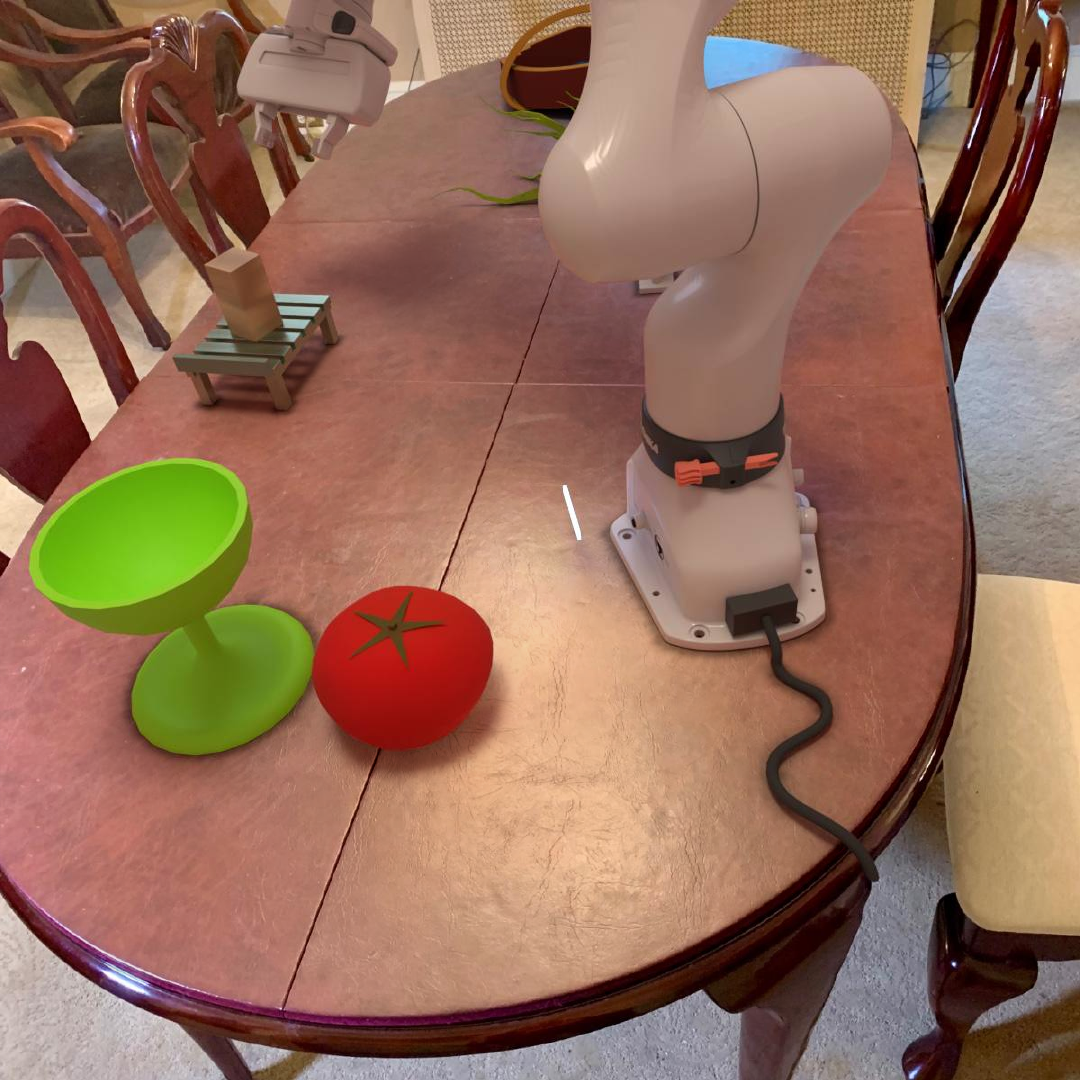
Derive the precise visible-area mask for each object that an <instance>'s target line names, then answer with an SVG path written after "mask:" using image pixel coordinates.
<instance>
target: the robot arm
mask: <svg viewBox="0 0 1080 1080" xmlns="http://www.w3.org/2000/svg"><path fill="white" fill-rule="evenodd" d="M739 1H740V0H588V4H589V7H590V12H589V14H590V25H591V50H590V60H589V66H588V72H587V77H586V81H585V85H584V89H583V92H582V95H581V98H580V101H579V104H578V106H577V107H576V109H575V112H573V115H572V118H571V119H570V121H569V123H568V125H567V126H566V127H565V128H566V130H565V131H564V133H563V135H562V136H561V138H560V139H559V140H557V142H556V143H555V144H554V146H553V147H552V149H551V151H550V152H549V155H548V156H547V158H546V160H545V163H544V166H543V168H542V171H541V172H542V175H541V177H540V179H539V186H538V187H539V193H538V200H537V203H538V204H537V207H538V214H539V215H538V216H539V222H540V224H541V229H542V232H543V235H544V237H545V240H546V241H547V244H548V246H549V247H550V249H551V251H552V252H553V254H554V256H555V257H556V258H557V259H558V261H559V262H560V263H561V264H562V265H563V266H564V267H565V268H566V270H568V271H569V272H570V273H571V274H573V275H574V276H575V277H577V278H578V279H580V280H581V281H583V282H585V283H587V284H591V285H597V284H600V285H601V284H613V283H615V284H616V283H627V282H637V281H639V280H646V279H653V278H657V277H660V276H663V275H666V274H669V273H673V274H674V273H676V272H679V271H683V272H681V273H680V275H679V276H678V277H677V278H675V279H674V282H673V283H672V284H671V285H670V286H669V287H668V288H667V289H666V290H665V291H664V292H662V293H661V294H660V295H659V296H658V298H657V299H656V300H655V302H654V303H653V305H652V306H651V308H650V310H649V312H648V314H647V318H646V320H645V325H644V328H643V335H642V336H643V360H644V361H643V362H644V385H645V386H644V387H645V392H644V394H643V396H642V398H641V406H640V407H641V409H640V412H639V424H640V430H641V440H642V441H641V443H640V444H639V446H638V447H637V449H636V450H635V451H634V453H633V454H632V455H631V456H630V457H629V459H628V460H627V461H626V512H624V513H623V514H621V515H620V516H619V517H617V518H616V519H615V520H614V521H613V522H612V523H611V525H610V531H609V537H610V540H611V542H612V543H613V545H614V547H615V549H616V551H617V553H618V555H619V557H620V559H621V561H622V563H623V564H624V566H625V568H626V571H627V573H628V574H629V576H630V578H631V580H632V582H633V584H634V585H635V587H636V590H637V591H638V594H639V595H640V597H641V599H642V601H643V603H644V605H645V607H646V608H647V611H648V612H649V615H650V616H651V618H652V620H653V621H654V624H655V626H656V627H657V630H658V631H659V634H660V635H661V636H662V638H663V640H664V641H665V642H666V643H668V644H671V645H675V646H678V647H681V648H685V649H691V650H699V651H734V650H742V649H751V648H756V647H762V646H768V645H769V647H770V653H771V656H770V666H771V669H772V671H773V673H774V674H775V676H776V677H777V678H778V679H779V680H780V681H781V682H782V683H783V684H785V685H786V686H788V687H789V688H792V689H793V690H796V691H798V692H800V693H802V694H805V695H807V696H809V697H811V698H812V699H814V700H815V701H817V702H818V704H819V705H820V714H819V717H818V718H817V720H815V722H814V723H812V724H811V725H810V726H808V727H806V728H805V729H803V730H801V731H799V732H798V733H796V734H794V735H792V736H790V737H789V738H787V739H785V740H783V741H782V742H781V743H780V744H778V745H777V746H776V747H775V748H774V749H773V750H772V751H771V752H770V754H768V755H769V756H768V757H767V760H766V762H765V775H766V779H767V784H768V786H769V787H770V790H771V791H772V793H773V795H774V796H775V797H776V798H777V799H778V801H779V802H780V803H781V804H782V805H784V806H785V807H786V808H787V809H789V810H790V811H792V812H793V813H795V814H796V815H797V816H799V817H801V818H803V819H805V820H806V821H808V822H810V823H812V824H813V825H815V826H817V827H819V828H820V829H822V830H823V831H824V832H827V833H828V834H829V835H831V836H833V837H834V838H836V839H837V840H839V842H841V843H842V844H843V845H844V846H846V848H847V849H849V851H850V852H851V853H852V854H853V855H854V857H855V858H856V860H857V861H858V862H859V864H860V867H861V869H862V870H863V873H864V876H865V877H866V879H867V880H868V881H870V882H871V883H878V882H879V880H880V873H879V871H878V867H877V865H876V863H875V861H874V859H873V857H872V856H871V854H870V853H869V851H868V850H867V848H866V847H865V845H864V844H863V843H862V842H861V841H860V840H859V839H858V838H857V837H856V836H855V835H854V834H853V833H852V832H850V831H849V830H848V829H847V828H845V827H844V826H843V825H841V824H839V823H838V822H836V821H835V820H833V819H832V818H830V817H829V816H827V815H825V814H824V813H822V812H820V811H818V810H816V809H814V808H812V807H810V806H809V805H807V804H805V803H804V802H802V801H801V800H799V799H798V798H796V797H795V796H794V795H793V794H791V793H790V792H789V791H788V790H787V788H786V787H785V786H784V785H783V783H782V781H781V779H780V774H779V765H780V763H781V761H782V760H783V758H784V757H786V755H788V754H789V753H790V752H792V751H794V750H795V749H797V748H799V747H800V746H802V745H804V744H806V743H808V742H810V741H811V740H813V739H814V738H816V737H817V736H819V735H820V734H822V732H824V731H825V730H826V729H827V727H828V726H829V725H830V724H831V722H832V719H833V716H834V707H833V706H834V705H833V703H832V700H831V698H830V697H829V695H828V694H827V693H826V692H825V691H824V690H823V689H821V688H819V687H818V686H816V685H813V684H812V683H809V682H807V681H804V680H802V679H800V678H798V677H796V676H794V675H793V674H791V673H790V672H789V671H788V670H787V669H786V668H785V666H784V665H783V655H784V654H783V647H782V644H781V642H785V641H787V640H790V639H794V638H797V637H798V636H799V637H800V636H801V635H803V634H806V633H808V632H809V631H811V630H813V629H814V628H816V627H817V626H818V625H820V624H821V623H822V622H824V620H825V618H826V600H825V594H824V587H823V580H822V575H821V574H822V573H821V568H820V561H819V555H818V548H817V542H816V536H815V534H816V533H817V532H818V513H817V508H816V507H813V506H811V504H810V500H809V498H808V497H807V496H805V495H804V494H802V493H799V492H797V491H796V489H795V486H796V485H797V486H798V485H799V486H800V485H804V481H805V478H804V477H805V476H804V474H805V473H804V469H803V468H793V465H792V458H791V446H792V437H791V436H789V435H788V434H787V433H786V431H787V416H786V411H785V403H784V401H785V400H784V396H783V393H782V391H781V388H782V377H783V369H784V361H785V354H786V348H787V341H788V334H789V330H790V329H789V328H790V325H791V323H792V318H793V316H794V313H795V310H796V308H797V305H798V303H799V300H800V298H801V296H802V294H803V292H804V290H805V287H806V286H807V283H808V281H809V280H810V277H811V275H812V274H813V272H814V270H815V268H816V267H817V265H818V263H819V261H820V259H821V258H822V256H823V255H824V253H825V251H826V250H827V248H828V247H829V245H830V244H831V242H832V241H833V239H834V238H835V236H836V235H837V234H838V232H839V231H840V230H841V229H842V228H843V226H844V225H845V224H846V222H848V220H849V219H850V218H851V217H852V216H853V215H854V214H855V213H856V212H857V211H858V210H859V209H860V208H861V207H862V206H863V205H864V204H865V203H866V202H867V201H869V200H870V199H871V198H872V197H873V196H874V195H875V194H876V192H877V191H878V190H879V188H880V187H881V185H882V183H883V181H884V179H885V177H886V174H887V171H888V169H889V165H890V161H891V157H892V151H893V141H894V137H893V136H894V135H893V134H894V133H893V132H894V131H893V122H892V117H891V114H890V110H889V107H888V104H887V102H886V100H885V98H884V96H883V95H882V92H881V91H880V89H879V88H878V86H877V85H876V84H875V83H874V81H873V80H872V79H871V78H870V77H869V76H868V75H867V74H866V73H865V72H863V71H861V70H860V69H858V68H856V67H854V66H849V65H805V66H789V67H784V68H781V69H777V70H773V71H769V72H766V73H762V74H759V75H755V76H752V77H747V78H743V79H740V80H737V81H733V82H730V83H725V84H722V85H719V86H718V85H717V86H715V87H711V88H708V87H707V84H706V83H707V82H706V76H705V65H704V64H705V63H704V62H705V50H706V43H707V39H708V35H709V33H710V32H711V31H712V30H713V29H715V27H716V26H717V25H718V24H719V23H720V22H721V21H723V19H724V18H726V16H727V15H728V14H729V13H730V12H731V11H732V10H733V9H734V7H735V6H736V5H737V4H738V3H739ZM374 3H375V0H290V4H289V8H288V11H287V14H286V18H285V21H284V24H283V26H280V25H276V24H273V25H272V24H271V25H269V27H268V28H266V29H265V30H264V31H263V32H261V33H259V35H258V36H257V38H256V39H255V40H254V41H253V43H252V45H251V46H250V48H249V50H248V53H247V55H246V58H245V60H244V62H243V65H242V67H241V70H240V73H239V76H238V79H237V82H236V90H237V95H238V97H239V98H240V99H242V100H244V102H246V103H248V104H249V105H251V106H253V107H254V110H253V113H254V120H255V126H256V129H255V132H254V136H253V142H254V144H255V145H258V146H259V147H261V148H265V149H269V150H271V149H273V148H274V145H275V142H276V139H277V136H278V135H277V134H275V133H273V121H275V120H277V119H276V118H277V115H278V113H283V114H289V115H290V114H291V115H296V116H302V117H306V118H313V119H319V120H323V121H324V120H325V123H326V124H327V127H326V128H325V130H324V131H323V132H322V133H321V135H320V137H319V138H318V137H314V139H313V140H312V146H311V148H310V153H311V155H312V156H313V157H315V158H317V159H320V160H324V161H330V160H331V159H332V155H333V152H334V148H335V147H336V146H337V145H338V144H339V142H340V141H342V139H343V138H344V137H345V136H346V135H347V134H348V130H349V126H350V125H353V126H354V125H355V126H358V127H359V126H360V127H366V128H371V127H373V126H374V125H375V124H376V123H377V122H378V121H379V120H380V118H381V116H382V114H383V111H384V108H385V104H386V100H387V98H388V93H389V89H390V85H391V80H392V79H391V78H392V73H391V69H390V67H393V66H394V65H395V63H396V61H397V58H398V54H399V51H398V49H397V47H396V46H395V45H393V44H392V42H391V41H390V40H388V39H387V37H386V36H385V35H383V34H382V33H381V32H380V31H378V30H377V29H376V28H374V27H373V26H372V23H373V18H374ZM562 489H563V495H564V498H565V502H566V505H567V508H568V512H569V515H570V518H571V522H572V526H573V529H574V532H575V535H576V539H577V540H578V541H579V540H580V541H581V540H582V535H581V530H580V526H579V523H578V519H577V516H576V513H575V510H574V506H573V503H572V500H571V496H570V494H569V490H568V487H567V485H562ZM698 636H701V637H698Z"/></svg>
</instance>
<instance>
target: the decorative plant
mask: <svg viewBox="0 0 1080 1080" xmlns="http://www.w3.org/2000/svg"><path fill="white" fill-rule="evenodd" d="M566 92H567V91H566ZM567 93H568V92H567ZM568 94H569V93H568ZM476 95H477V96H478V97H479V98H480V100H482V101H483V102H484V103H485V104H486V105H487V106H488V107H490V108H491V109H492V110H494V111H495V112H496V113H499V114H501V115H506V116H512V117H514V118H516V119H518V120H520V121H521V122H533V123H537V124H539V125H542V126H543V127H546V128H548V129H551V130H553V131H531V130H515V132H516V133H517V132H518V133H524V134H525V133H527V134H531V135H536V136H541V137H552V138H554V139H555V140H557V141H558V140H559V139H560V138H561V136H562V135H563V133H564V131H565V130H566V128H567V127H566V126H564V125H563V124H561V123H559V122H557V121H555V120H553V119H552V118H550V117H548V116H547V115H544V114H543V113H540V112H535V111H530V110H515V111H510V112H509V111H508V112H507V111H504V110H503V109H502V108H500V110H499V109H497V108H495V107H494V106H492V105H491V104H489V103H488V102H486V100H485V99H483V97H481V96H480V95H479V94H478V93H476ZM569 95H570V94H569ZM570 96H571V95H570ZM571 97H572V96H571ZM572 98H574V97H572ZM574 99H576V100H578V101H580V99H578V98H574ZM557 102H558V101H557ZM559 103H561V102H559ZM562 104H564V103H562ZM565 105H566V104H565ZM567 106H568V105H567ZM568 108H570V109H571V110H572V111H573V113H575V111H576V109H575V107H570V106H568ZM521 115H522V116H525V117H521ZM500 131H501V132H502V131H503V132H513V130H509V129H500ZM509 171H510V172H512V173H514V174H516V175H517V176H521V177H523V178H524V179H525V178H526V179H528V180H537V179H539V178H541V175H542V171H538V173H537V174H536V175H533V176H530V177H529V176H526V175H524V174H523V175H522V174H519V173H518V172H515V171H514V170H512V169H509ZM458 190H462V191H466V192H470V193H472V194H474V195H475V196H477V197H479V198H481V199H482V200H484V201H488V202H494V203H497V204H498V203H499V204H503V205H511V204H517V203H518V204H519V203H526V202H534V201H538V193H539V186H536V187H534V188H532V189H529V190H526V191H524V192H521V193H519V194H515V195H513V196H510V197H507V198H505V197H498V196H492V195H486V194H484V193H482V192H480V191H477V190H475V189H473V188H470V187H460V186H459V187H455V188H451V189H448V190H445V191H442V192H440V193H438V194H436V195H435V196H432V197H431V198H430V200H432V199H434V198H436V197H438V196H440V195H442V194H444V193H448V192H453V191H458Z"/></svg>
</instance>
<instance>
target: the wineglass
mask: <svg viewBox="0 0 1080 1080" xmlns="http://www.w3.org/2000/svg"><path fill="white" fill-rule="evenodd" d="M247 494H248V493H247V491H246V486H245V485H244V484H243V482H242V481H241V480H240V478H239V477H238V476H237V475H236V473H235V472H233V471H231V470H230V469H228V468H227V467H225V466H223V465H221V464H220V463H217V462H213V461H209V460H205V459H201V458H191V457H189V458H188V457H171V458H166V459H157V460H151V461H146V462H143V463H139V464H137V465H133V466H130V467H127V468H122V469H121V470H118V471H116V472H114V473H112V474H109V475H107V476H105V477H102V478H101V479H98V480H96V481H95V482H93V483H92V484H90V485H89V486H87V487H86V488H84V489H82V490H80V491H79V492H78V493H76V494H74V495H73V496H72V497H70V498H69V499H68V500H67V501H66V502H65V503H63V505H62V506H60V507H59V508H58V509H57V510H56V511H54V513H53V514H52V515H51V516H50V517H49V518H48V520H47V521H46V523H45V524H44V525H43V527H42V528H41V529H40V530H39V531H38V534H37V536H36V538H35V540H34V542H33V545H32V547H31V549H30V551H29V552H30V553H29V566H28V572H29V574H30V576H31V579H32V581H33V584H34V587H35V588H36V589H37V590H38V591H39V593H41V594H42V595H43V596H44V597H45V598H46V599H47V600H48V601H49V602H50V603H51V604H52V605H53V606H54V607H56V608H57V609H58V610H59V611H60V612H61V613H62V614H64V615H65V616H66V617H68V618H69V619H71V620H73V621H76V622H78V623H80V624H82V625H85V626H86V627H88V628H92V629H94V630H97V631H100V632H103V633H104V634H105V633H106V634H113V635H114V634H115V635H126V636H143V637H144V636H146V637H147V636H151V635H152V636H153V635H160V634H166V633H168V632H171V631H172V632H171V633H169V634H168V635H166V636H165V637H163V639H161V641H160V642H159V643H158V644H157V645H156V646H155V647H154V648H153V650H152V651H151V652H149V654H148V655H147V657H146V658H145V660H144V662H143V664H142V665H141V667H140V669H139V671H138V672H137V674H136V677H135V681H134V684H133V686H132V687H133V688H132V692H131V714H132V718H133V720H134V722H135V724H136V727H137V729H138V731H139V733H140V734H141V735H142V736H143V737H144V738H145V739H146V740H147V741H148V742H150V743H151V744H152V745H153V746H155V747H158V748H160V749H162V750H165V751H166V752H170V753H172V754H177V755H178V754H179V755H189V756H201V755H208V754H216V753H223V752H225V751H228V750H230V749H233V748H236V747H240V746H242V745H245V744H247V743H249V742H250V741H252V740H254V739H256V738H257V737H260V736H261V735H263V734H265V733H267V732H268V731H270V730H271V729H272V728H274V727H275V726H276V725H277V724H278V723H279V722H280V721H282V720H283V719H284V718H285V717H286V716H287V715H288V714H289V713H290V712H291V711H292V710H293V709H294V707H295V706H296V704H297V703H298V702H299V700H301V698H302V697H303V695H304V693H305V692H306V690H307V688H308V685H309V683H310V680H311V679H312V665H313V658H314V655H315V650H314V644H313V641H312V636H311V635H310V634H309V632H308V631H307V630H306V628H305V627H304V625H303V624H302V622H300V621H299V620H297V619H296V618H294V617H293V616H291V615H290V614H289V613H287V612H286V611H283V610H280V609H277V608H274V607H270V606H268V605H261V604H260V605H259V604H257V605H256V604H238V605H231V606H230V605H229V606H223V607H219V608H217V609H215V608H216V607H218V606H219V605H220V604H221V603H222V602H223V600H225V599H226V597H227V596H228V595H229V594H230V593H231V592H232V590H233V588H234V587H235V585H236V583H237V581H238V579H239V578H240V576H241V574H242V573H243V570H244V568H245V566H246V565H247V563H248V561H249V556H250V551H251V548H252V547H251V546H252V538H253V529H254V521H253V516H252V511H251V507H250V503H249V498H248V495H247Z"/></svg>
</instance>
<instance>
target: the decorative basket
mask: <svg viewBox="0 0 1080 1080" xmlns="http://www.w3.org/2000/svg"><path fill="white" fill-rule="evenodd" d="M586 13H590V7H589V3H585V4H581V5H576V6H573V7H570V8H566V9H564V10H561V11H558V12H556V13H554V14H552V15H550V16H548V17H546V18H544V19H542V20H540V21H539V22H537V23H536V24H534V25H532V27H530V28H529V29H528V30H527V31H525V32H524V33H523V34H522V35H521V36H520V37H519V39H518V40H517V41H516V42H515V43H514V44H513V46H512V47H511V49H510V50H509V52H508V54H507V56H506V57H504V58H502V59H500V60H499V65H500V76H499V88H500V89H499V90H500V92H501V95H502V97H503V99H504V100H505V102H506V104H508V105H509V106H510V107H511V108H513V109H515V110H516V111H521V110H524V111H531V110H532V111H533V110H539V109H546V110H547V109H548V110H549V109H566V108H570V107H572V108H577V106H578V104H579V101H578V100H576V99H574V98H578V99H580V98H581V95H582V92H583V89H584V85H585V81H586V77H587V72H588V66H589V60H590V50H591V24H589V23H588V24H587V23H586V24H585V23H583V24H582V23H579V24H578V23H577V24H573V25H570V26H568V27H566V28H563V29H560V30H558V31H555V32H552V33H550V34H548V35H545V36H542V37H540V38H538V39H536V40H534V41H530V40H531V39H532V38H533V37H535V35H536V34H538V33H539V32H540V31H542V30H543V29H545V28H546V27H549V26H550V25H552V24H555V23H556V22H558V21H560V20H564V19H565V18H569V17H573V16H576V15H580V14H586ZM528 42H529V43H528ZM566 91H567V92H568V93H569V94H570V95H571V96H572V97H574V98H572V97H571V96H570V95H569V94H568V93H567V92H566ZM557 101H558V102H557ZM559 102H561V103H559ZM562 103H564V104H562ZM565 104H566V105H565ZM567 105H568V106H570V107H568V106H567Z"/></svg>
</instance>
